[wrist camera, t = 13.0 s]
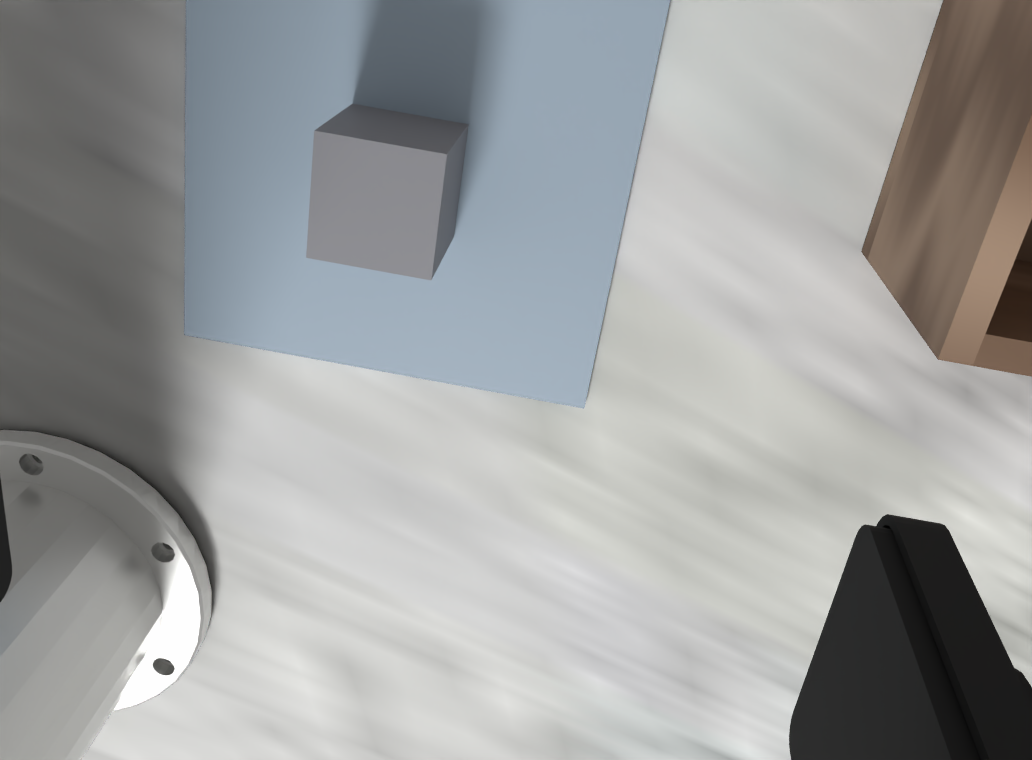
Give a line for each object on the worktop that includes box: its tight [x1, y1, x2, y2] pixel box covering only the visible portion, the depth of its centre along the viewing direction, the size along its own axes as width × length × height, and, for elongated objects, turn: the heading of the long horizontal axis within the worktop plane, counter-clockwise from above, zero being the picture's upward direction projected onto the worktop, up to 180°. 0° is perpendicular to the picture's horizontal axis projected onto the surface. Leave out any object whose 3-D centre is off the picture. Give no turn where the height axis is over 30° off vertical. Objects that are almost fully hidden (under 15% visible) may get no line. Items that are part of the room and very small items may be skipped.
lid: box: [184, 0, 670, 408], centre depth 28 cm, size 14×14×5 cm
